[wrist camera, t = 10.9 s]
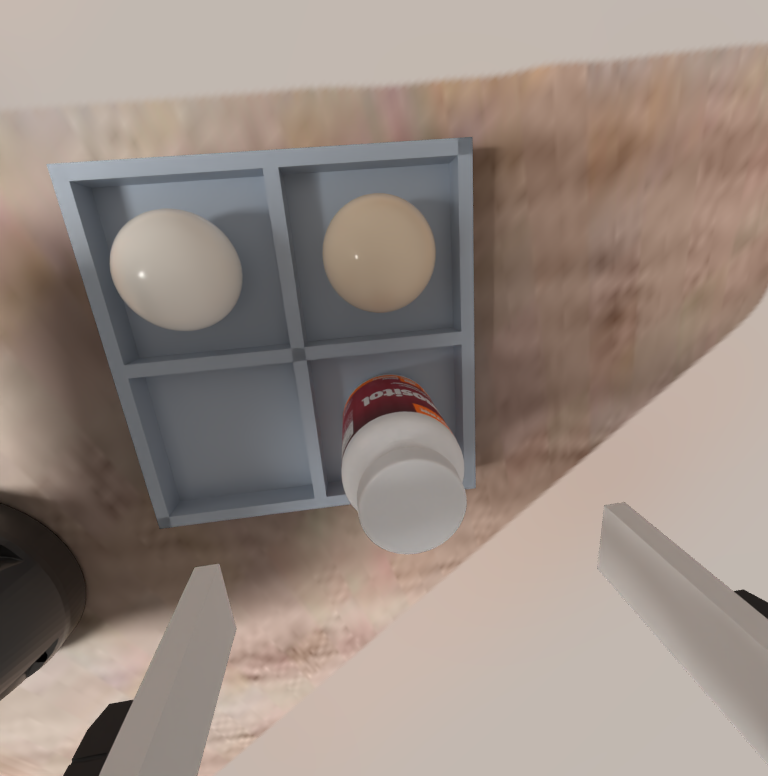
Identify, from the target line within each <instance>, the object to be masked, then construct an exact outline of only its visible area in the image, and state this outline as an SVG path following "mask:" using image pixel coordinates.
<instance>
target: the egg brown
mask: <svg viewBox="0 0 768 776" xmlns="http://www.w3.org/2000/svg"><path fill="white" fill-rule="evenodd" d="M322 255H323V264H324V269H325V272H326V275H327V277H328V280H329V282H330V283H331V285H332V287H333V288H334V290H335V291H336V292H337V293H338V295H339V296H341V297H342V298H343V299H344V300H345V301H346V302H348V303H349V304H350V305H352V306H354V307H356V308H358V309H361V310H363V311H368V312H374V313H386V312H392V311H395V310H398V309H400V308H403V307H405V306H406V305H408V304H410V303H411V302H412V301H414V300H415V299H416V298H417V297H418V296H419V295H420V294H421V293H422V291H423V290H424V289H425V287H426V286H427V284H428V282H429V280H430V278H431V276H432V273H433V270H434V266H435V259H436V248H435V241H434V236H433V233H432V230H431V228H430V226H429V224H428V222H427V220H426V219H425V217H424V216H423V215H422V213H421V212H420V211H419V210H418V209H417V208H416V207H415V206H413V205H412V204H411V203H409V202H408V201H406V200H405V199H402V198H400V197H398V196H395V195H391V194H386V193H372V194H366V195H363V196H359V197H357V198H355V199H353V200H351V201H350V202H348V203H347V204H345V205H344V206H343V207H342V208H341V209H340V210H339V211H338V212H337V213H336V214H335V216H334V217H333V219H332V220H331V222H330V224H329V226H328V228H327V231H326V234H325V237H324V242H323V251H322Z"/></svg>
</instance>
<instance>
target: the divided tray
mask: <svg viewBox="0 0 768 776" xmlns="http://www.w3.org/2000/svg"><path fill="white" fill-rule="evenodd" d="M47 167H48V170H49V173H50V177H51V180H52V183H53V186H54V190H55V193H56V196H57V199H58V202H59V206H60V209H61V212H62V215H63V219H64V222H65V225H66V228H67V232H68V235H69V238H70V241H71V244H72V248H73V251H74V254H75V257H76V261H77V264H78V267H79V270H80V273H81V277H82V280H83V283H84V286H85V290H86V293H87V296H88V299H89V302H90V306H91V309H92V312H93V315H94V319H95V322H96V325H97V328H98V331H99V335H100V338H101V341H102V344H103V348H104V351H105V354H106V357H107V360H108V364H109V367H110V370H111V373H112V377H113V380H114V383H115V386H116V389H117V393H118V396H119V399H120V402H121V406H122V409H123V412H124V415H125V418H126V422H127V425H128V428H129V431H130V435H131V438H132V441H133V444H134V447H135V451H136V454H137V457H138V460H139V464H140V467H141V470H142V473H143V476H144V480H145V483H146V486H147V489H148V493H149V496H150V499H151V502H152V505H153V509H154V512H155V515H156V518H157V522H158V525H159V528H160V529H162V528H170V527H178V526H185V525H193V524H201V523H209V522H216V521H224V520H232V519H240V518H247V517H255V516H263V515H271V514H278V513H286V512H294V511H302V510H309V509H317V508H325V507H333V506H340V505H348V504H351V503H350V501H349V500H348V498H347V496H346V493H345V491H344V488H343V483H342V469H341V463H342V428H343V412H344V408H345V405H346V402H347V400H348V398H349V396H350V395H351V393H352V392H353V391H354V389H355V388H356V387H357V386H359V385H360V384H361V383H362V382H364V381H366V380H368V379H369V378H372V377H375V376H378V375H383V374H397V375H402V376H405V377H407V378H410V379H412V380H413V381H415V382H416V383H418V384H419V385H420V386H421V387H422V388H423V389H424V390H425V391H426V393H427V394H428V395H429V397H430V399H431V400H432V402H433V403H434V405H435V407H436V408H437V410H438V411H439V413H440V415H441V416H442V418H443V419H444V421H445V423H446V424H447V426H448V427H449V429H450V430H451V432H452V433H453V435H454V437H455V438H456V440H457V442H458V444H459V446H460V448H461V451H462V454H463V459H464V478H463V483H462V484H463V486H464V489H472V488H476V473H475V365H474V257H473V149H472V137H465V138H449V139H433V140H418V141H402V142H386V143H371V144H355V145H339V146H324V147H308V148H292V149H276V150H261V151H245V152H229V153H214V154H198V155H182V156H167V157H151V158H135V159H120V160H104V161H88V162H72V163H57V164H47ZM372 193H386V194H391V195H395V196H398V197H400V198H402V199H405V200H406V201H408V202H409V203H411V204H412V205H413V206H415V207H416V208H417V209H418V210H419V211H420V212H421V213H422V215H423V216H424V217H425V219H426V220H427V222H428V224H429V226H430V228H431V230H432V233H433V236H434V241H435V248H436V259H435V266H434V270H433V273H432V276H431V278H430V280H429V282H428V284H427V286H426V287H425V289H424V290H423V291H422V293H421V294H420V295H419V296H418V297H417V298H416V299H415V300H414V301H412V302H411V303H410V304H408V305H406V306H405V307H403V308H400V309H398V310H395V311H392V312H386V313H374V312H368V311H363V310H361V309H358V308H356V307H354V306H352V305H350V304H349V303H348V302H346V301H345V300H344V299H343V298H342V297H341V296H339V295H338V293H337V292H336V291H335V290H334V288H333V287H332V285H331V283H330V282H329V280H328V277H327V275H326V272H325V269H324V264H323V255H322V251H323V242H324V237H325V234H326V231H327V228H328V226H329V224H330V222H331V220H332V219H333V217H334V216H335V214H336V213H337V212H338V211H339V210H340V209H341V208H342V207H343V206H344V205H345V204H347V203H348V202H350V201H351V200H353V199H355V198H357V197H359V196H363V195H366V194H372ZM162 208H172V209H179V210H184V211H188V212H192V213H194V214H197V215H199V216H201V217H203V218H205V219H206V220H208V221H210V222H211V223H213V224H214V225H215V226H217V227H218V228H219V229H220V230H221V231H222V232H223V233H224V234H225V235H226V236H227V238H228V239H229V240H230V242H231V243H232V245H233V246H234V248H235V250H236V252H237V254H238V257H239V259H240V263H241V267H242V274H243V282H242V289H241V293H240V296H239V298H238V301H237V303H236V305H235V306H234V308H233V309H232V310H231V312H230V313H229V314H228V315H227V316H226V317H224V318H223V319H222V320H221V321H219V322H217V323H216V324H214V325H212V326H210V327H207V328H204V329H200V330H195V331H176V330H170V329H165V328H162V327H159V326H157V325H154V324H152V323H150V322H148V321H146V320H145V319H143V318H142V317H140V316H139V315H138V314H136V313H135V312H134V311H133V310H132V309H131V308H130V307H129V306H128V305H127V304H126V303H125V301H124V300H123V299H122V298H121V296H120V294H119V293H118V291H117V289H116V287H115V285H114V282H113V279H112V276H111V271H110V253H111V248H112V245H113V242H114V239H115V237H116V236H117V234H118V232H119V231H120V230H121V228H122V227H123V226H124V225H125V224H126V223H127V222H128V221H130V220H131V219H133V218H134V217H136V216H137V215H140V214H142V213H144V212H147V211H151V210H155V209H162Z"/></svg>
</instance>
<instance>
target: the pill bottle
mask: <svg viewBox="0 0 768 776" xmlns="http://www.w3.org/2000/svg"><path fill="white" fill-rule="evenodd" d="M341 469H342V483H343V488H344V491H345V493H346V496H347V498H348V500H349V501H350V503H351V504H352V506H353V507H354V508H355V509H356V510H357V511H358V515H359V520H360V524H361V526H362V528H363V530H364V532H365V533H366V535H367V536H368V538H369V539H370V540H371V541H372V542H374V543H375V544H376V545H378V546H379V547H381V548H383V549H385V550H387V551H390V552H394V553H398V554H417V553H422V552H426V551H429V550H431V549H434V548H436V547H437V546H439V545H441V544H443V543H444V542H445V541H447V540H448V539H449V538H450V537H451V536H452V535H453V534H454V533H455V532H456V530H457V529H458V528H459V526H460V524H461V522H462V520H463V518H464V515H465V512H466V505H467V500H466V492H465V489H464V486H463V484H462V483H463V478H464V459H463V454H462V451H461V448H460V446H459V444H458V442H457V440H456V438H455V437H454V435H453V433H452V432H451V430H450V429H449V427H448V426H447V424H446V423H445V421H444V419H443V418H442V416H441V415H440V413H439V411H438V410H437V408H436V407H435V405H434V403H433V402H432V400H431V399H430V397H429V395H428V394H427V393H426V391H425V390H424V389H423V388H422V387H421V386H420V385H419V384H418V383H416V382H415V381H413V380H412V379H410V378H407V377H405V376H402V375H397V374H383V375H378V376H375V377H372V378H369V379H368V380H366V381H364V382H362V383H361V384H360V385H359V386H357V387H356V388H355V389H354V391H353V392H352V393H351V395H350V396H349V398H348V400H347V402H346V405H345V408H344V412H343V428H342V463H341Z"/></svg>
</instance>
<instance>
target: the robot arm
mask: <svg viewBox="0 0 768 776" xmlns="http://www.w3.org/2000/svg"><path fill="white" fill-rule="evenodd" d="M597 569H598V570H599V571H600V572H601V573H602V575H603V576H604V577H605V578H606V579H607V580H608V582H609V583H610V584H611V585H612V586H613V587H614V588H615V590H616V591H617V592H618V593H619V594H620V595H621V597H622V598H623V599H624V600H625V601H626V602H627V603H628V605H629V606H630V607H631V608H632V609H633V610H634V612H635V613H636V614H637V615H638V616H639V617H640V618H641V620H642V621H643V622H644V623H645V624H646V625H647V627H648V628H649V629H650V630H651V631H652V632H653V633H654V635H655V636H656V637H657V638H658V639H659V640H660V642H661V643H662V644H663V645H664V646H665V647H666V648H667V650H668V651H669V652H670V653H671V654H672V655H673V657H674V658H675V659H676V660H677V661H678V662H679V664H680V665H681V666H682V667H683V668H684V669H685V670H686V672H687V673H688V674H689V675H690V676H691V677H692V678H693V680H694V681H695V682H696V683H697V684H698V685H699V687H700V688H701V689H702V690H703V691H704V692H705V694H706V695H707V696H708V697H709V698H710V699H711V700H712V702H713V703H714V704H715V705H716V706H717V707H718V709H719V710H720V711H721V712H722V713H723V714H724V715H725V717H726V718H727V719H728V720H729V721H730V722H731V724H732V725H733V726H734V727H735V728H736V729H737V730H738V732H739V733H740V734H741V735H742V736H743V737H744V739H745V740H746V741H747V742H748V743H749V744H750V745H751V747H752V748H753V749H754V750H755V751H756V752H757V754H758V755H759V756H760V757H761V758H762V759H763V760H764V761H765V763H766V764H767V765H768V602H766V601H764V600H762V599H760V598H758V597H757V596H755V595H753V594H751V593H749V592H747V591H745V590H738V591H733V590H731V589H730V588H729V587H728V586H726V585H725V584H724V583H723V582H722V581H720V580H719V579H718V578H717V577H715V576H714V575H713V574H712V573H711V572H709V571H708V570H707V569H706V568H704V567H703V566H702V565H701V564H699V563H698V562H697V561H696V560H695V559H693V558H692V557H691V556H690V555H689V554H687V553H686V552H685V551H684V550H682V549H681V548H680V547H679V546H677V545H676V544H675V543H674V542H673V541H671V540H670V539H669V538H668V537H667V536H665V535H664V534H663V533H662V532H660V531H659V530H658V529H657V528H656V527H654V526H653V525H652V524H651V523H649V522H648V521H647V520H646V519H645V518H643V517H642V516H641V515H640V514H638V513H637V512H636V511H635V510H633V509H632V508H631V507H630V506H629V505H627V504H626V503H625V502H624V503H617V504H610V505H605V506H604V512H603V521H602V531H601V539H600V548H599V557H598V566H597ZM85 601H86V588H85V582H84V578H83V574H82V572H81V569H80V567H79V565H78V563H77V561H76V559H75V558H74V556H73V555H72V553H71V552H70V550H69V549H68V548H67V547H66V545H65V544H64V543H63V542H62V541H61V540H60V539H59V538H58V537H57V536H56V535H55V534H54V533H52V532H51V531H50V530H49V529H47V528H46V527H45V526H43V525H42V524H41V523H39V522H37V521H36V520H34V519H33V518H31V517H29V516H27V515H25V514H24V513H22V512H20V511H17V510H15V509H13V508H10V507H8V506H5V505H3V504H0V700H2V699H3V698H4V697H5V696H6V695H8V694H9V693H10V692H11V691H13V690H14V689H15V688H16V687H17V686H18V685H20V684H21V683H22V682H23V681H24V680H25V679H26V678H28V677H29V676H31V675H32V674H34V673H35V672H36V671H37V670H39V669H40V668H41V667H42V666H43V665H45V664H46V663H47V662H48V661H49V660H50V659H51V658H52V657H53V656H54V654H55V653H56V652H57V651H58V650H59V648H60V647H61V646H62V644H63V643H64V642H65V640H66V639H67V638H68V636H69V635H70V634H71V632H72V631H73V630H74V628H75V627H76V625H77V624H78V622H79V620H80V618H81V616H82V613H83V610H84V607H85ZM235 632H236V625H235V621H234V617H233V614H232V610H231V606H230V602H229V598H228V595H227V591H226V587H225V583H224V579H223V576H222V572H221V568H220V564H213V565H207V566H200V567H194V570H193V572H192V574H191V576H190V578H189V581H188V583H187V585H186V587H185V589H184V591H183V594H182V596H181V598H180V600H179V602H178V604H177V607H176V609H175V611H174V613H173V615H172V618H171V620H170V622H169V624H168V626H167V628H166V631H165V633H164V635H163V637H162V639H161V641H160V644H159V646H158V648H157V650H156V652H155V655H154V657H153V659H152V661H151V663H150V665H149V668H148V670H147V672H146V674H145V676H144V678H143V681H142V683H141V685H140V687H139V689H138V691H137V694H136V696H135V698H134V700H129V701H124V702H118V703H112V704H109V705H108V706H107V708H106V709H105V710H104V711H103V712H102V713H101V715H100V716H99V717H98V718H97V719H96V721H95V722H94V723H93V724H92V725H91V726H90V728H89V729H88V730H87V732H86V734H85V736H84V738H83V739H82V741H81V743H80V745H79V747H78V749H77V751H76V753H75V755H74V756H73V758H72V763H71V765H69V766H68V768H67V770H66V772H65V773H64V775H63V776H197V774H198V771H199V767H200V763H201V760H202V756H203V752H204V748H205V745H206V741H207V737H208V733H209V730H210V726H211V722H212V718H213V715H214V711H215V707H216V703H217V700H218V696H219V692H220V688H221V685H222V681H223V677H224V673H225V670H226V666H227V662H228V658H229V655H230V651H231V647H232V644H233V640H234V636H235Z"/></svg>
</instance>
